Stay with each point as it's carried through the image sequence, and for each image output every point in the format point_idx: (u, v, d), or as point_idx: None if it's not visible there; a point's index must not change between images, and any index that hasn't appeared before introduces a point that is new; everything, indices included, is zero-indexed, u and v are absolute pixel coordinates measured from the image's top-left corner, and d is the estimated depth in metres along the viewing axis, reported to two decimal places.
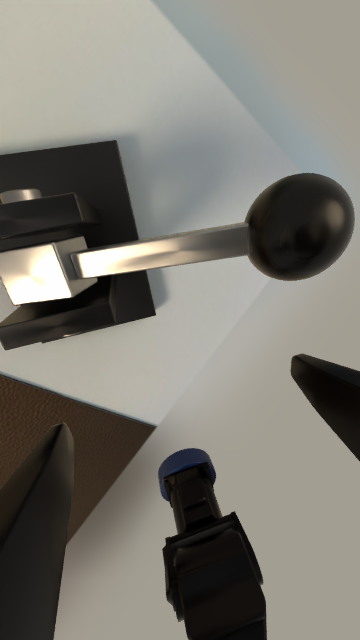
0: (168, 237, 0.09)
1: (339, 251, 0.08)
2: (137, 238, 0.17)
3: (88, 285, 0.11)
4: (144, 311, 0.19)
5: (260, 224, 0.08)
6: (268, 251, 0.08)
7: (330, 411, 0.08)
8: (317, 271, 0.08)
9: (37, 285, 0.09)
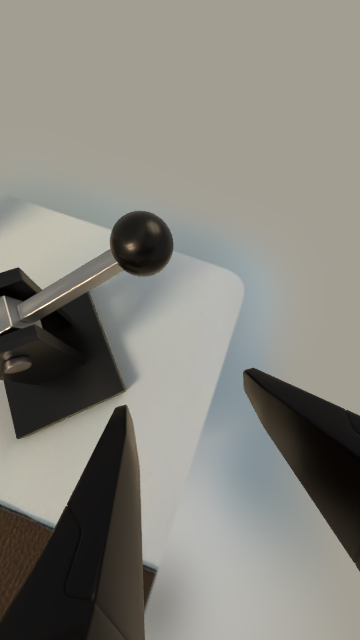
0: (70, 273, 0.14)
1: (153, 232, 0.12)
2: (100, 329, 0.22)
3: None
4: (112, 388, 0.21)
5: (110, 240, 0.13)
6: (116, 249, 0.13)
7: (275, 430, 0.08)
8: (149, 248, 0.12)
9: None
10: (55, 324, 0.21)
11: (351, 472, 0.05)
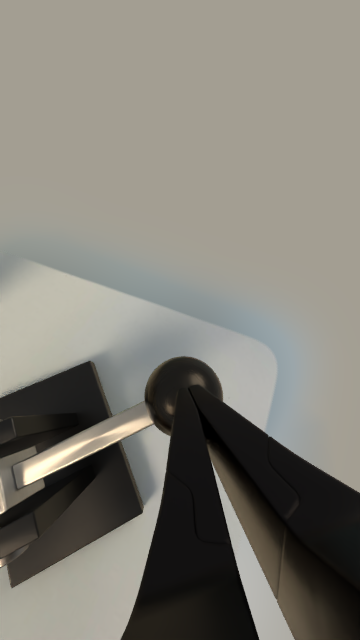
0: (89, 428, 0.11)
1: None
2: None
3: (30, 494, 0.11)
4: (128, 510, 0.17)
5: (147, 399, 0.10)
6: (157, 418, 0.10)
7: (211, 451, 0.08)
8: None
9: None
10: (58, 432, 0.17)
11: (260, 508, 0.05)
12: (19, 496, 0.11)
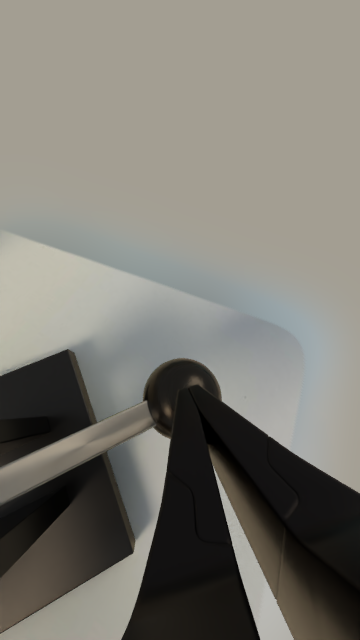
0: (75, 433, 0.09)
1: None
2: None
3: None
4: (114, 550, 0.13)
5: (155, 396, 0.10)
6: (169, 414, 0.09)
7: (211, 452, 0.08)
8: None
9: None
10: (19, 443, 0.13)
11: (259, 508, 0.05)
12: None
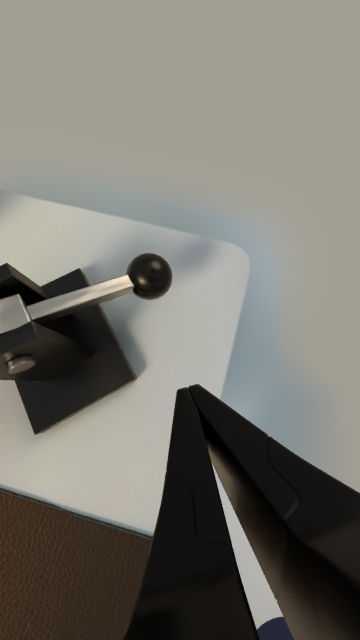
0: (89, 286, 0.17)
1: (168, 270, 0.18)
2: (103, 319, 0.22)
3: None
4: (122, 377, 0.20)
5: (132, 268, 0.17)
6: (140, 275, 0.17)
7: (211, 452, 0.08)
8: (165, 280, 0.18)
9: (2, 321, 0.14)
10: (57, 318, 0.20)
11: (260, 508, 0.05)
12: None
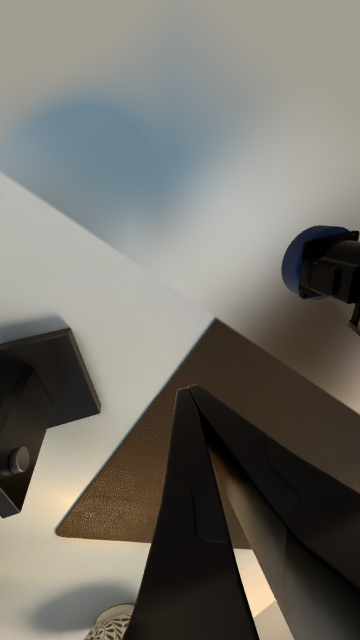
0: None
1: None
2: None
3: None
4: (64, 344, 0.19)
5: None
6: None
7: (211, 452, 0.08)
8: None
9: None
10: None
11: (259, 507, 0.05)
12: None
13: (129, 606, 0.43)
